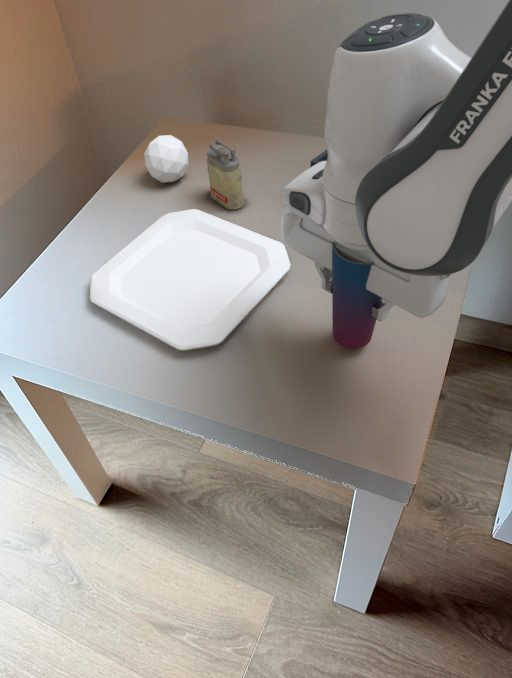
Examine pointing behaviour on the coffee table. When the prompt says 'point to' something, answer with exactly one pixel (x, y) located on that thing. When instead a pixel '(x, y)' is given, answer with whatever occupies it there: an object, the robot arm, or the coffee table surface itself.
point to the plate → (189, 278)
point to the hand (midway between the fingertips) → (354, 302)
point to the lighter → (225, 176)
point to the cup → (351, 302)
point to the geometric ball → (166, 158)
